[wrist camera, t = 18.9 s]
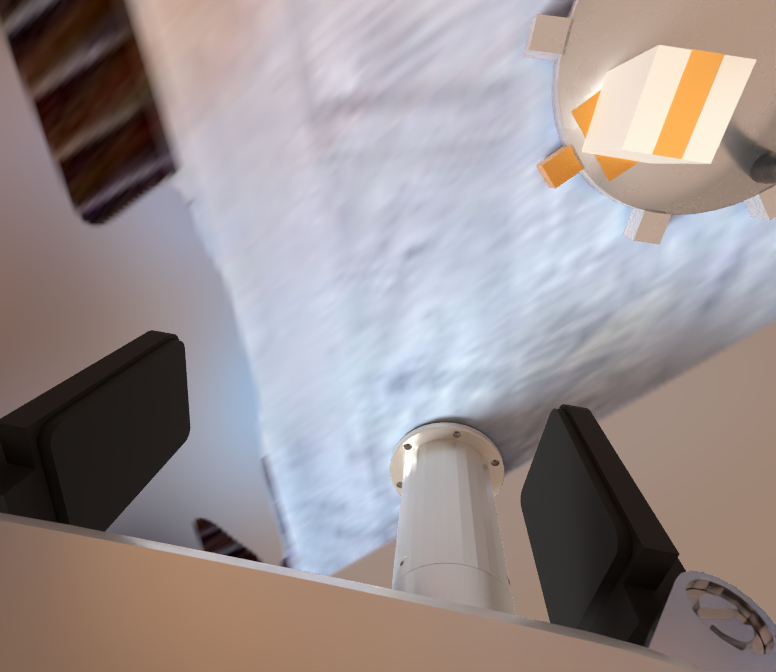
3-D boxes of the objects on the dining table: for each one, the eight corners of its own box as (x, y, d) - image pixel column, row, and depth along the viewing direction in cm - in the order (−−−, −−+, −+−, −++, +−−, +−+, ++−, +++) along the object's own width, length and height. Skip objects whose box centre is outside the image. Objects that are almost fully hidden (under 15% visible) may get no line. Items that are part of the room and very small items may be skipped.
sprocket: (959, 97, 28) (1148, 74, 20) (612, 295, 35) (659, 330, 28) (847, -322, 21) (1062, -575, 14) (456, 31, 29) (464, -13, 22)
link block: (650, 163, 29) (711, 163, 23) (581, 152, 29) (622, 149, 23) (681, 83, 27) (758, 59, 21) (606, 71, 27) (659, 44, 21)
